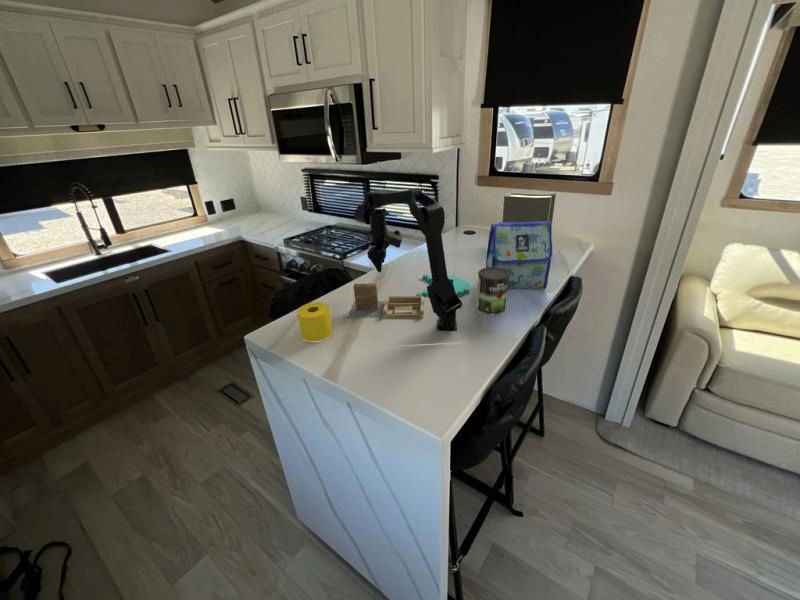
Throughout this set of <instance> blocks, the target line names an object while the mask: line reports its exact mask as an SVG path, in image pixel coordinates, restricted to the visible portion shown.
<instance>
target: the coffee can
mask: <svg viewBox="0 0 800 600" xmlns="http://www.w3.org/2000/svg"><path fill="white" fill-rule="evenodd" d="M477 274H478V279H477V295H476V307H475V308H476V311H477V312H478V313H479V312H480V313H479V314H480V315H484V316H488V317H496V316H501V315H503V314H504V313H505V312H506V305H507V296H508V295H507V294H508V290H507V288H508V279H509V272H508V271H506V270H504V269H501V268H486V267H484V268H482V269H479V271H478V273H477Z"/></svg>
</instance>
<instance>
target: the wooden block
mask: <svg viewBox="0 0 800 600" xmlns="http://www.w3.org/2000/svg"><path fill="white" fill-rule="evenodd" d="M377 289H378V287H377V283H354V284H353V294H354V300H355V301H354V302H355V303H356V310H378V301H379V298H378V290H377Z"/></svg>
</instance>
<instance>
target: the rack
mask: <svg viewBox="0 0 800 600" xmlns="http://www.w3.org/2000/svg"><path fill="white" fill-rule="evenodd" d="M404 306H412V309H419V310H420V311H419V312H420V313H413V314H395V313H389V309H395V307H404ZM424 310H425V296H416V295H415V296H410V295H409V296H407V295H406V296H405V295H404V296H402V295H401V296H400V295H399V296H397V295H393V296H391V295H390V296H386V299H385V303H384V307H383V311H382V316H383V318H385V319H386V318H387V319H388V318H391V319H392V318H401V319H402V318H405V319H407V318H409V319H410V318H415V319H417V318H418V319H419V318H421V319H422V318H424V314H425V311H424Z"/></svg>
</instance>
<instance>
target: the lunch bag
mask: <svg viewBox="0 0 800 600" xmlns="http://www.w3.org/2000/svg"><path fill="white" fill-rule="evenodd" d="M552 229H553V227H552V226H551V222H520V223H505V222H503V221H502V222H501V221H500V222H498V223H492V224H491V225H490V231H489V235H488V242H487V251H486V259H485V268H501V269H504V270H506V271H508V272H509V279H508V288H507V291H523V290H530V291H532V290H533V291H535V290H537V291H538V290H546V288H547V286H548V280H549V275H550V269H551V259H552V256H553V240H552V233H553V232H552Z"/></svg>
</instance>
